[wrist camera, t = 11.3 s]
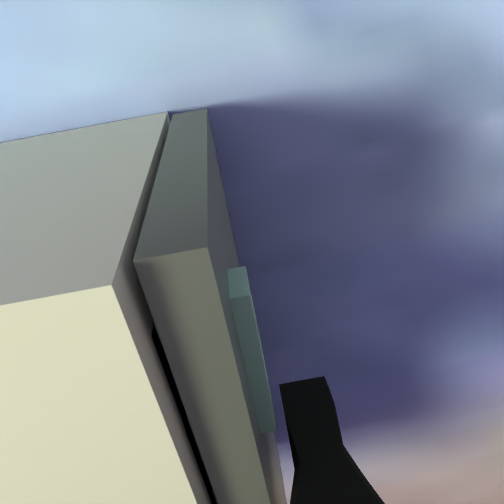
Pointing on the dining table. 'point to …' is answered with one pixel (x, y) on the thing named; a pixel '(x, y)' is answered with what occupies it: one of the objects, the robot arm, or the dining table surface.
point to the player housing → (84, 325)
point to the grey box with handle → (208, 319)
